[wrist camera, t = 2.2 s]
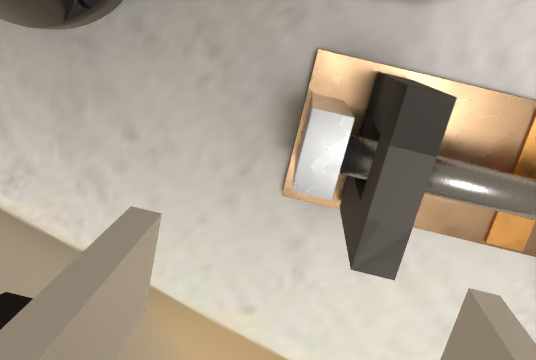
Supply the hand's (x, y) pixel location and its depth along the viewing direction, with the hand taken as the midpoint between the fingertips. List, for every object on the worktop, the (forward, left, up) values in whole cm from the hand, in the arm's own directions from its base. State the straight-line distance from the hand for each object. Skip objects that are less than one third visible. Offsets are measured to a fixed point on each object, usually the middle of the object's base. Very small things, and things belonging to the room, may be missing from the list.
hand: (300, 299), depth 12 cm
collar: (+5, 0, -23) cm, 24 cm away
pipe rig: (+11, 0, -25) cm, 27 cm away
